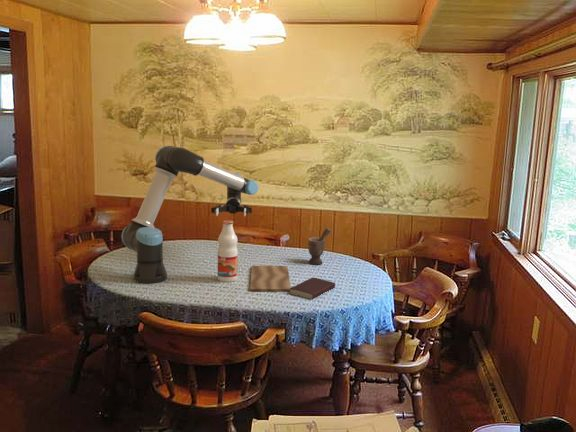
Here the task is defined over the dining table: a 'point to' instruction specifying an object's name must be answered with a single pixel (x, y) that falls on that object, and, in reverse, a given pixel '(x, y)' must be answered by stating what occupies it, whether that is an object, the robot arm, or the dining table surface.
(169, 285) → the dining table surface
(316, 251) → the mortar and pestle
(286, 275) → the walnut board
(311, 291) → the book
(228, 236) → the fruit juice
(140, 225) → the robot arm
